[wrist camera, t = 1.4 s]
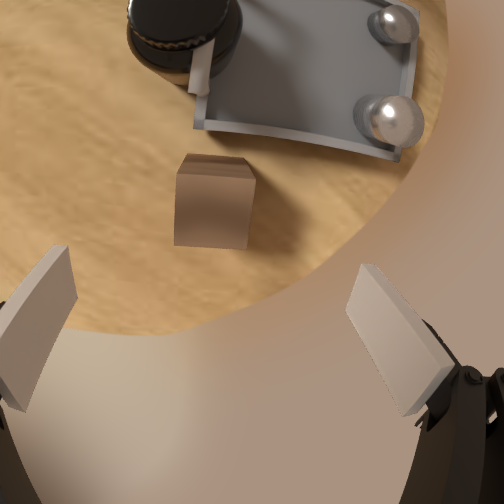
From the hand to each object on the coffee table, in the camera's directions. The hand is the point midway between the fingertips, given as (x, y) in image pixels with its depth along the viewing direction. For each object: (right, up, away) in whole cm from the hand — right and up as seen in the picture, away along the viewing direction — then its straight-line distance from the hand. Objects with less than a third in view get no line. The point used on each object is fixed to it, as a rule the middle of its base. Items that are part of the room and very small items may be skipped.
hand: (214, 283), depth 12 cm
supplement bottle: (-3, +18, +8) cm, 20 cm away
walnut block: (-2, +8, +14) cm, 16 cm away
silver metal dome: (+13, +21, +6) cm, 26 cm away
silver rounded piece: (+12, +13, +10) cm, 20 cm away
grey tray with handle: (+7, +19, +9) cm, 22 cm away
